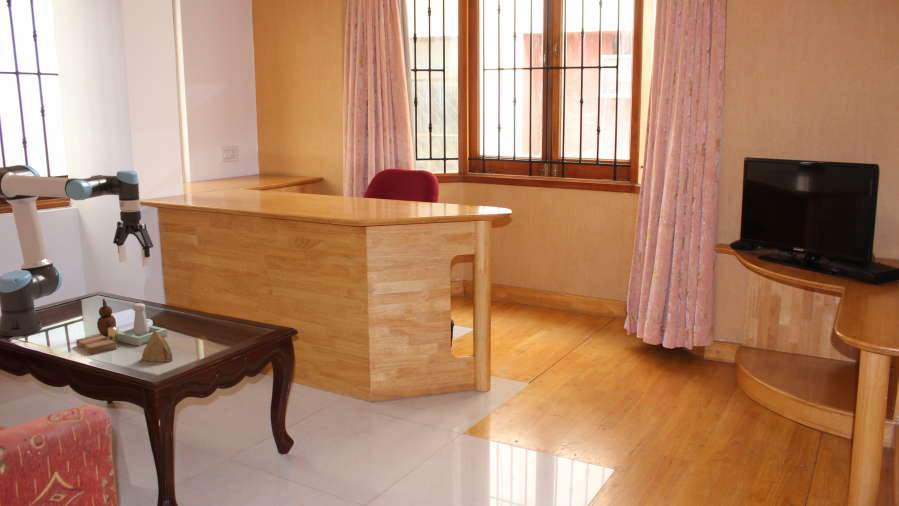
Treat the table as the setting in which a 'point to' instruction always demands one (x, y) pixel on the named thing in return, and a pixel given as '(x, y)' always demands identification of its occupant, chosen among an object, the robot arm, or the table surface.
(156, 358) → the tan rounded pyramid
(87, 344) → the brown grooved block
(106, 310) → the wooden figurine
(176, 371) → the table surface
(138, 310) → the salt shaker
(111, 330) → the bench dog
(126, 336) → the tray
